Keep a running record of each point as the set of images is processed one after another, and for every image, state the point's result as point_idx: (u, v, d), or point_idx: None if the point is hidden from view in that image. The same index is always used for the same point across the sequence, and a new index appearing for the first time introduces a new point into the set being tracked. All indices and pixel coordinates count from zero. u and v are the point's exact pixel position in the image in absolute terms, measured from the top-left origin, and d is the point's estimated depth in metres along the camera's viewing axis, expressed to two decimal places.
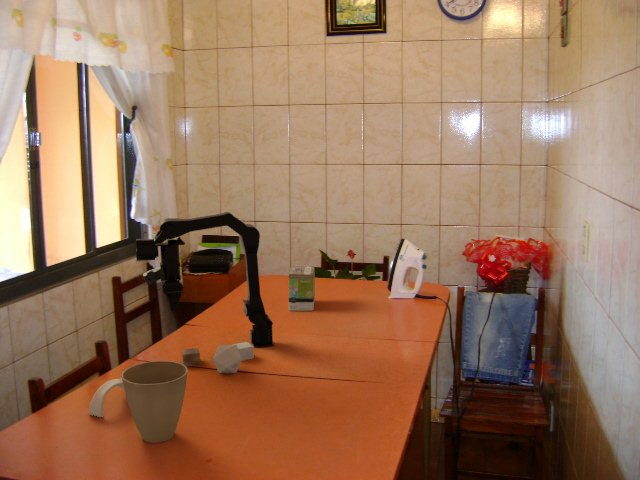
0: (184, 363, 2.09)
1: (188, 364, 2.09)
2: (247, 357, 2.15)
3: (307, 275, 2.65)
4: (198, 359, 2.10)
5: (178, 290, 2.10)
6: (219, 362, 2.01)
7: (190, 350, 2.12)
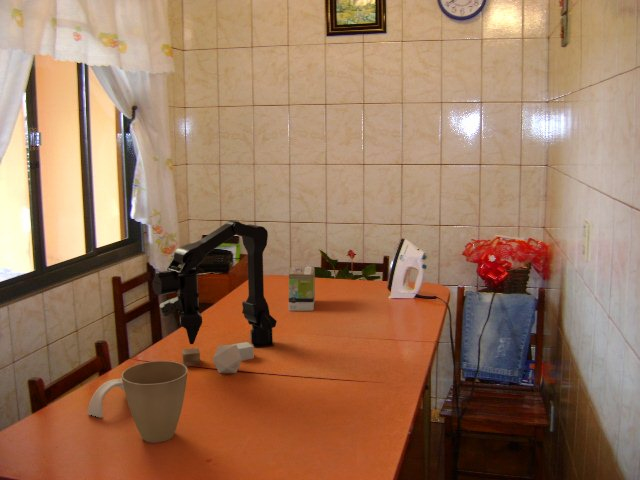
0: (184, 363, 2.09)
1: (188, 364, 2.09)
2: (247, 357, 2.15)
3: (307, 275, 2.65)
4: (198, 359, 2.10)
5: (197, 323, 2.01)
6: (219, 362, 2.01)
7: (190, 350, 2.12)
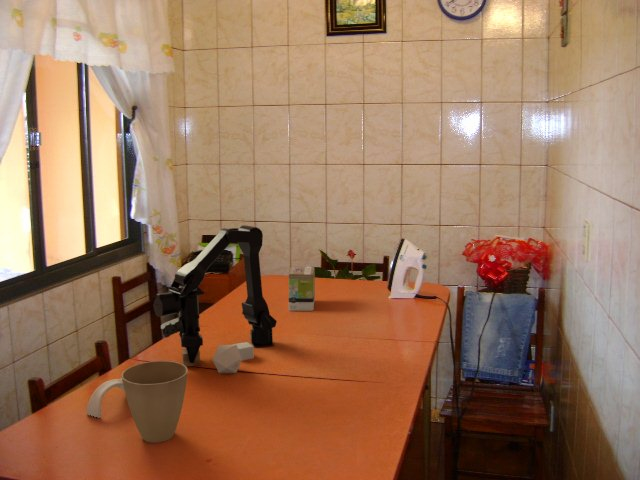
0: (184, 362, 2.09)
1: (188, 363, 2.09)
2: (247, 357, 2.15)
3: (307, 275, 2.65)
4: (198, 358, 2.10)
5: (198, 344, 2.02)
6: (219, 363, 2.01)
7: None
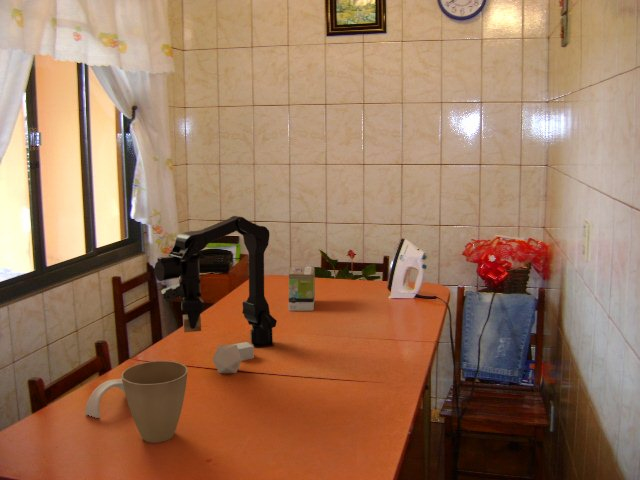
0: (185, 328, 2.07)
1: (189, 329, 2.07)
2: (247, 357, 2.15)
3: (307, 275, 2.65)
4: (199, 324, 2.07)
5: (198, 308, 2.00)
6: (219, 363, 2.01)
7: None
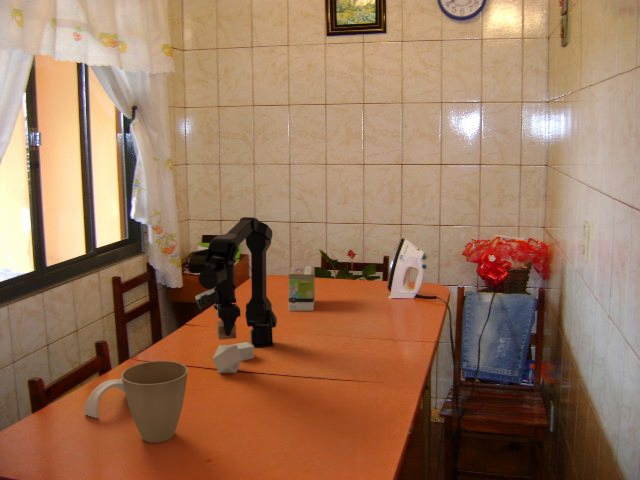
0: (219, 335, 2.00)
1: (224, 336, 2.00)
2: (247, 357, 2.15)
3: (307, 275, 2.65)
4: (234, 331, 2.01)
5: (235, 315, 1.93)
6: (219, 363, 2.01)
7: None
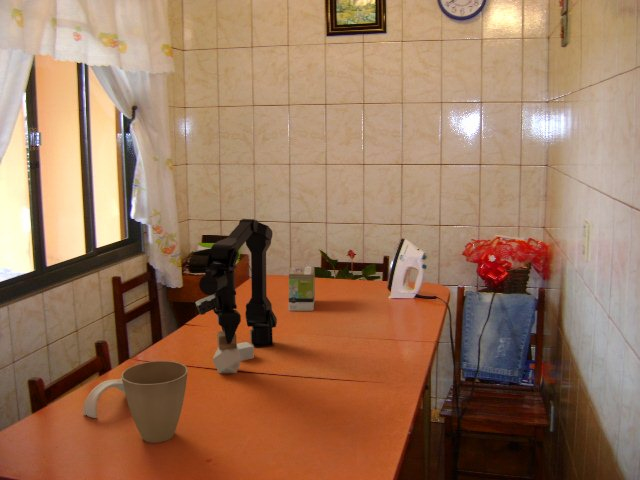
0: (220, 345, 2.01)
1: (224, 347, 2.01)
2: (247, 357, 2.15)
3: (307, 275, 2.65)
4: (234, 341, 2.01)
5: (235, 321, 1.93)
6: (219, 363, 2.01)
7: None
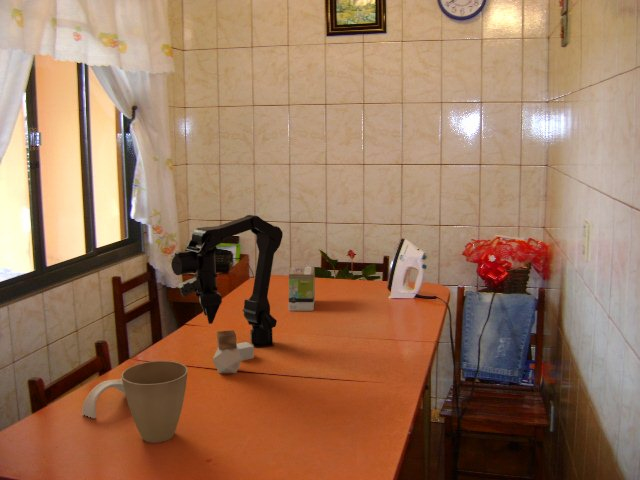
0: (220, 345, 2.01)
1: (224, 347, 2.01)
2: (247, 357, 2.15)
3: (307, 275, 2.65)
4: (234, 341, 2.01)
5: (217, 302, 2.03)
6: (219, 363, 2.01)
7: (226, 332, 2.04)
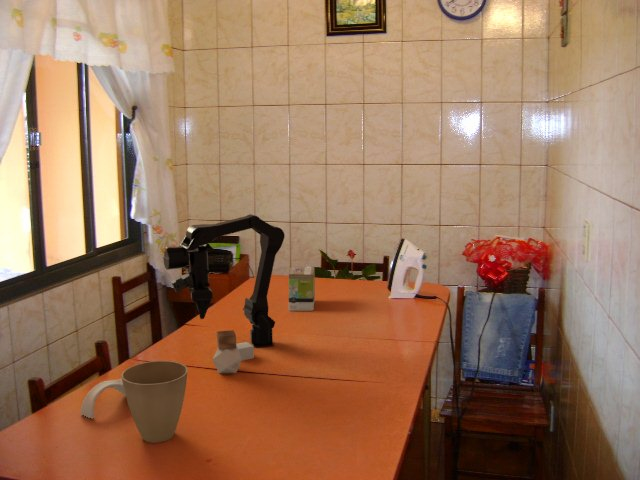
0: (220, 345, 2.01)
1: (224, 346, 2.01)
2: (247, 357, 2.15)
3: (307, 275, 2.65)
4: (234, 341, 2.01)
5: (208, 297, 2.08)
6: (219, 363, 2.01)
7: (225, 332, 2.04)
